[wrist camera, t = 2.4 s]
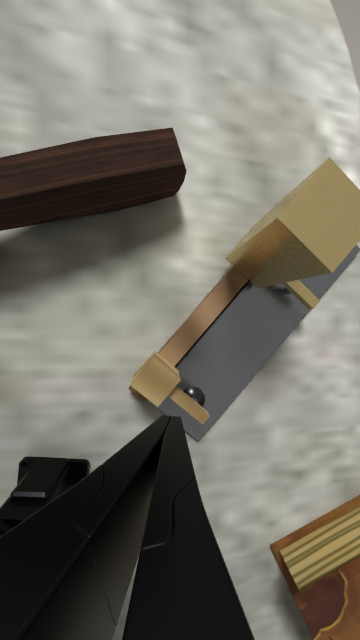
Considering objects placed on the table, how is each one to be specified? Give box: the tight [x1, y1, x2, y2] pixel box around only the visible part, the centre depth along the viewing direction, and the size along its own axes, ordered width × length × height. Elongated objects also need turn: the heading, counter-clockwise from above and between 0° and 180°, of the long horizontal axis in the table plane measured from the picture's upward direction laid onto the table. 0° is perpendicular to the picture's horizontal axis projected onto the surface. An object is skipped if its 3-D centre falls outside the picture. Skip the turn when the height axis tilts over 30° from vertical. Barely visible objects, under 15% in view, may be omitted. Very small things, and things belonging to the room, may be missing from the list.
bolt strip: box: [148, 245, 360, 441], centre depth 22 cm, size 27×7×1 cm, turn 139°
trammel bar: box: [129, 266, 248, 424], centre depth 20 cm, size 27×8×4 cm, turn 139°
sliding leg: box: [226, 157, 360, 309], centre depth 16 cm, size 4×9×10 cm, turn 49°
